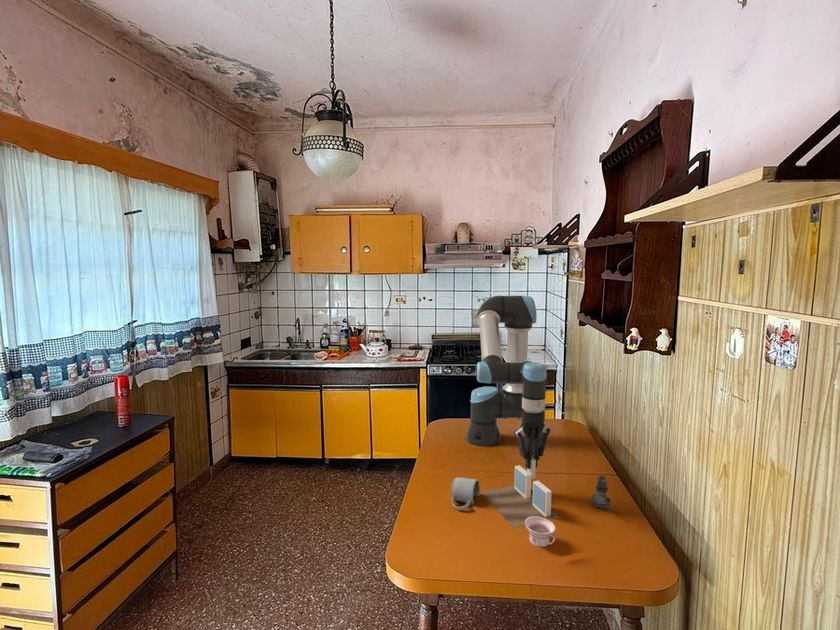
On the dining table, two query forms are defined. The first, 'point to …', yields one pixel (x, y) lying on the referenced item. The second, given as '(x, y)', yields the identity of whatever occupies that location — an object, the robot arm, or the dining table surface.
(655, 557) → the dining table surface
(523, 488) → the tile
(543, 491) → the tile
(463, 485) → the ceramic mug
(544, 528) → the teacup
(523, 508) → the walnut board
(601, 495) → the grey stone finial
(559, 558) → the dining table surface
